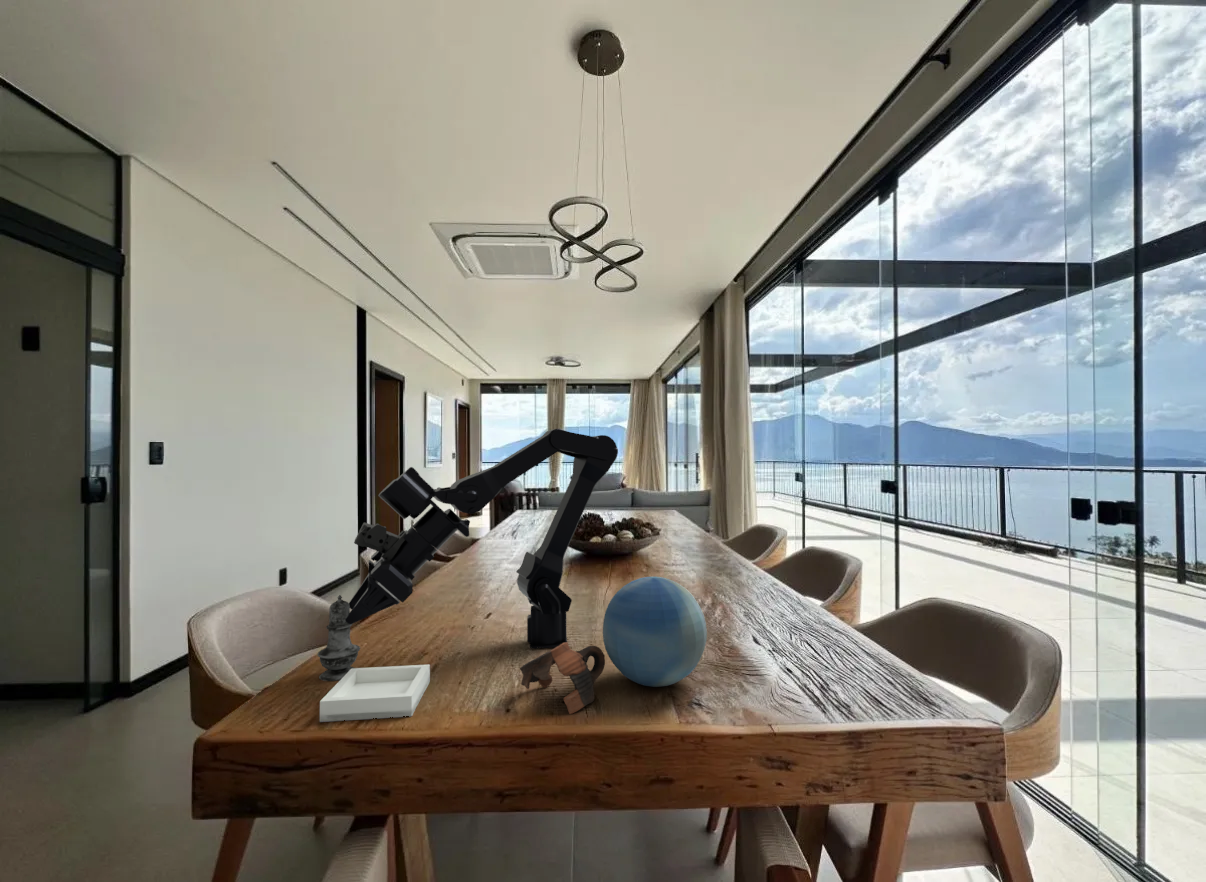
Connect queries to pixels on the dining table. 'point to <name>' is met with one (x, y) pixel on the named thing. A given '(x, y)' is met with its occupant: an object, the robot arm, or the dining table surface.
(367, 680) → the box
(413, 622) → the dining table surface
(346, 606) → the grey stone finial
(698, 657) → the decorative ball
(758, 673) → the dining table surface
